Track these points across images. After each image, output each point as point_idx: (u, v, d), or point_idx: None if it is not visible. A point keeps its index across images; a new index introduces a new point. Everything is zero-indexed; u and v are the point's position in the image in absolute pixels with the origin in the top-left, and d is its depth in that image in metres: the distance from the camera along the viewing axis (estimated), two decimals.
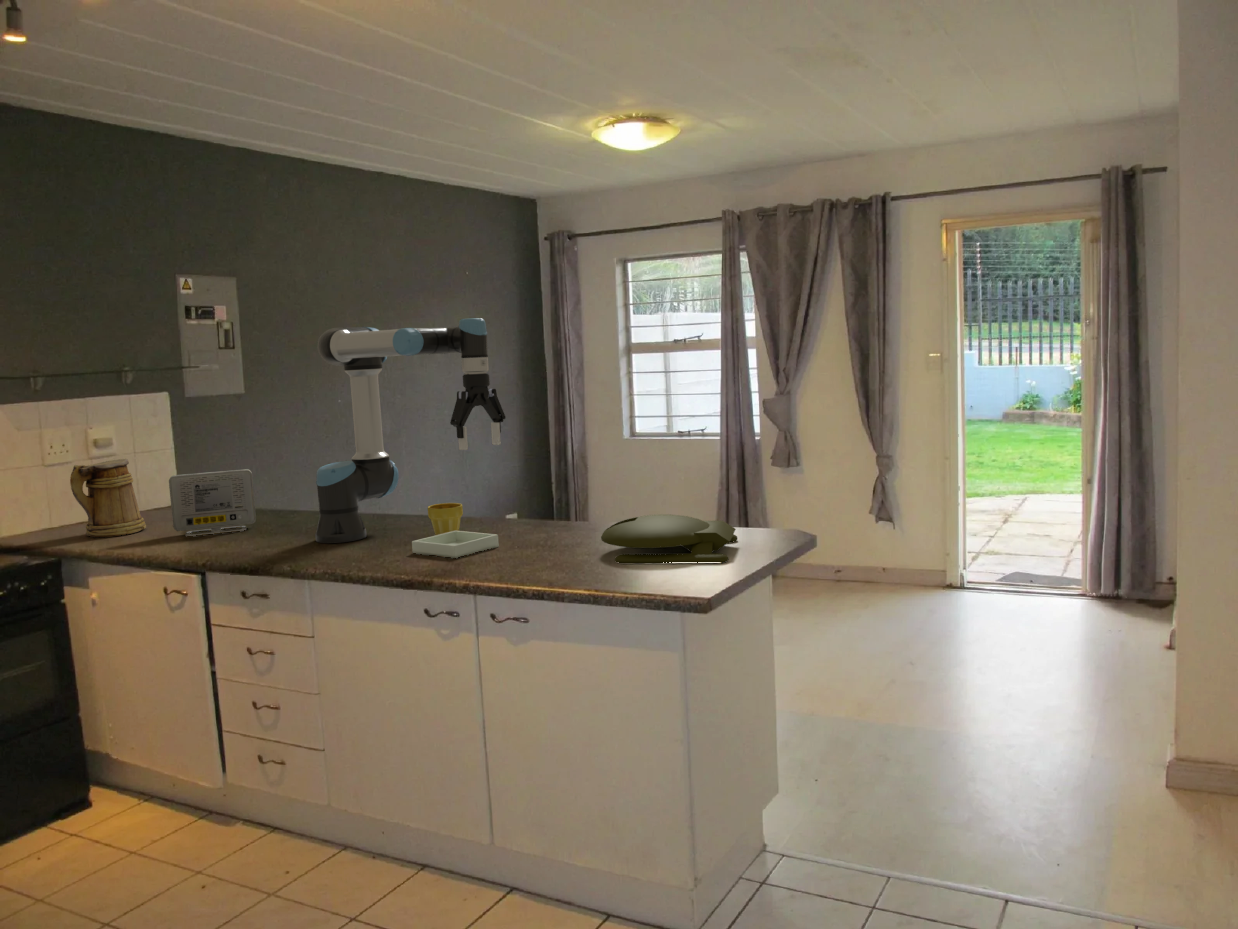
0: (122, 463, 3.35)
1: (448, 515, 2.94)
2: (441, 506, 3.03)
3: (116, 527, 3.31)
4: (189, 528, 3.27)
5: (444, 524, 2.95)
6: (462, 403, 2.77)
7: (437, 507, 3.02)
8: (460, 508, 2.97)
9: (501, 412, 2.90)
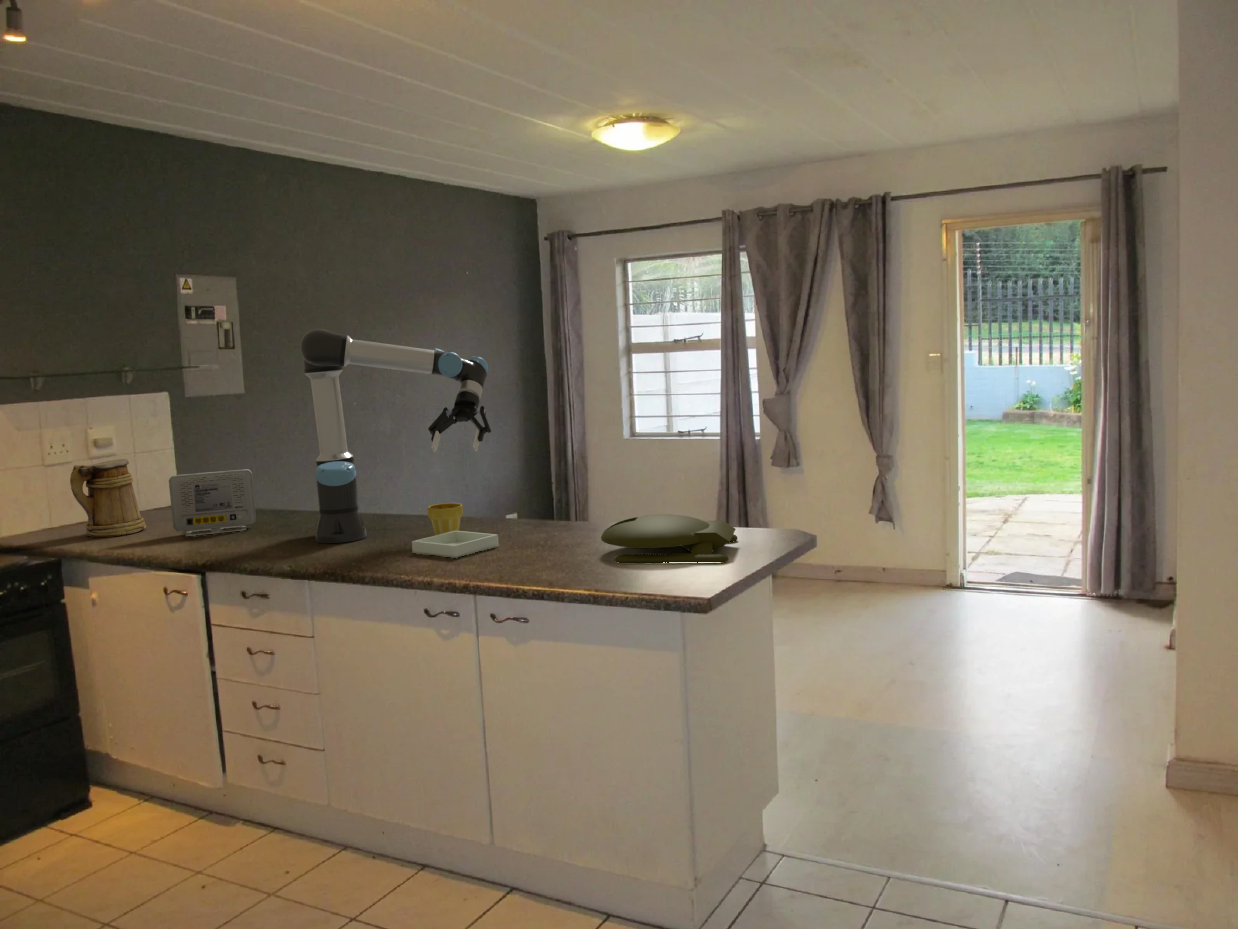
0: (122, 463, 3.35)
1: (448, 515, 2.94)
2: (441, 506, 3.03)
3: (116, 527, 3.31)
4: (189, 528, 3.27)
5: (444, 524, 2.95)
6: None
7: (437, 507, 3.02)
8: (460, 508, 2.97)
9: None
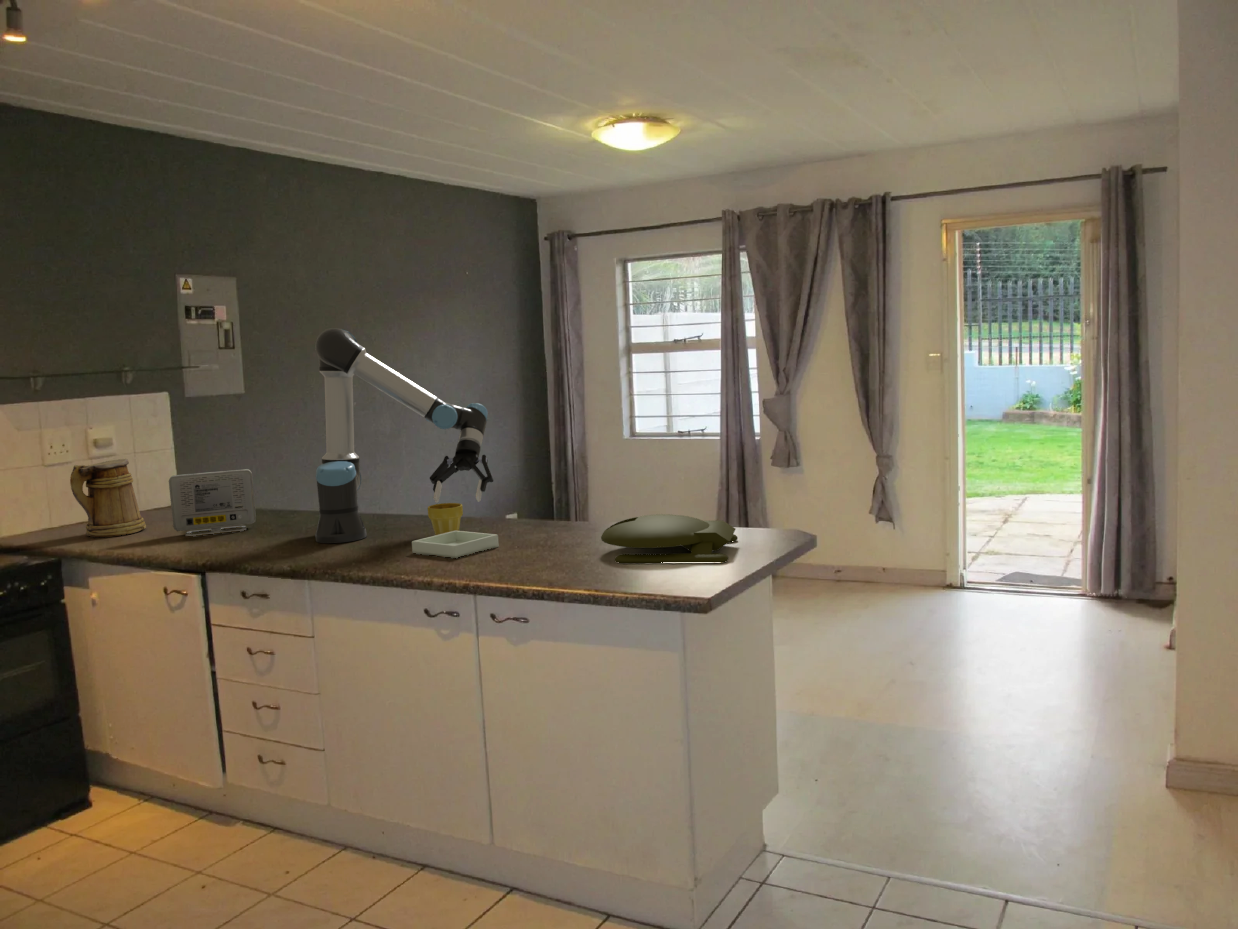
0: (122, 463, 3.35)
1: (448, 515, 2.94)
2: (441, 506, 3.03)
3: (116, 527, 3.31)
4: (189, 528, 3.27)
5: (444, 524, 2.95)
6: None
7: (437, 507, 3.02)
8: (460, 508, 2.97)
9: None
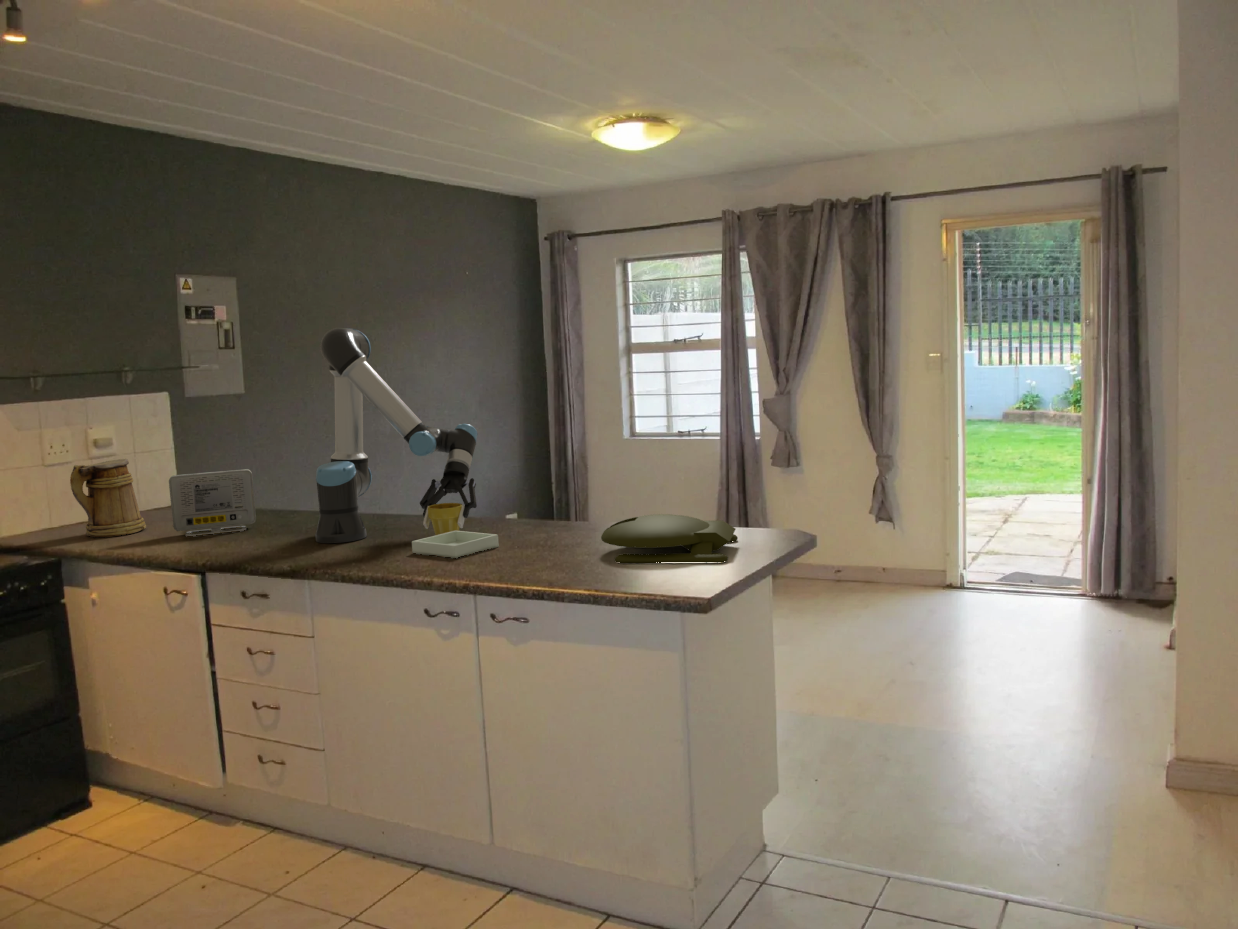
0: (122, 463, 3.35)
1: (448, 515, 2.94)
2: (441, 506, 3.03)
3: (116, 527, 3.31)
4: (189, 528, 3.27)
5: (444, 524, 2.95)
6: None
7: (437, 507, 3.02)
8: (460, 508, 2.97)
9: None
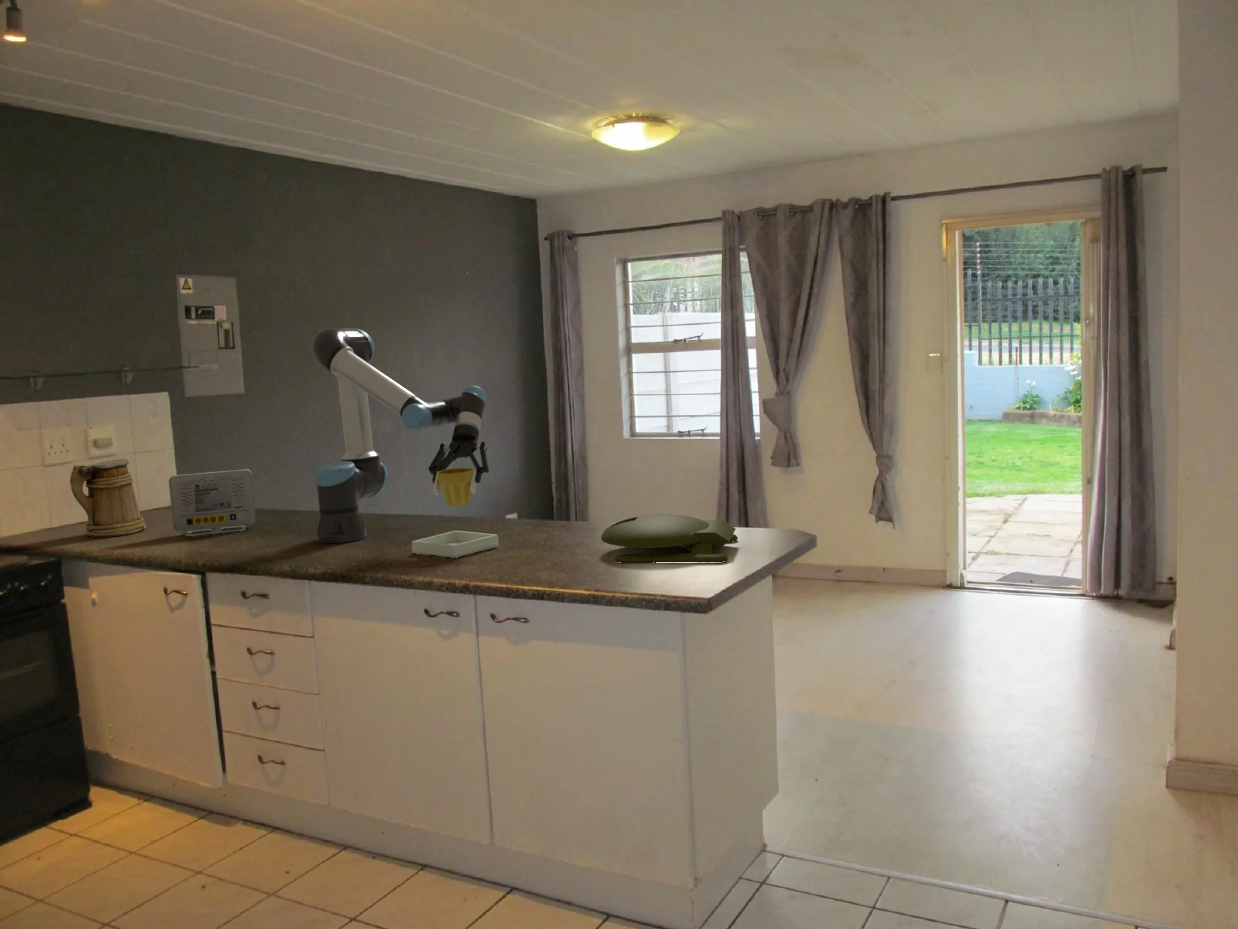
0: (122, 463, 3.35)
1: (460, 480, 2.79)
2: (451, 471, 2.88)
3: (116, 527, 3.31)
4: (189, 528, 3.27)
5: (456, 490, 2.80)
6: None
7: (447, 472, 2.87)
8: (472, 473, 2.82)
9: None
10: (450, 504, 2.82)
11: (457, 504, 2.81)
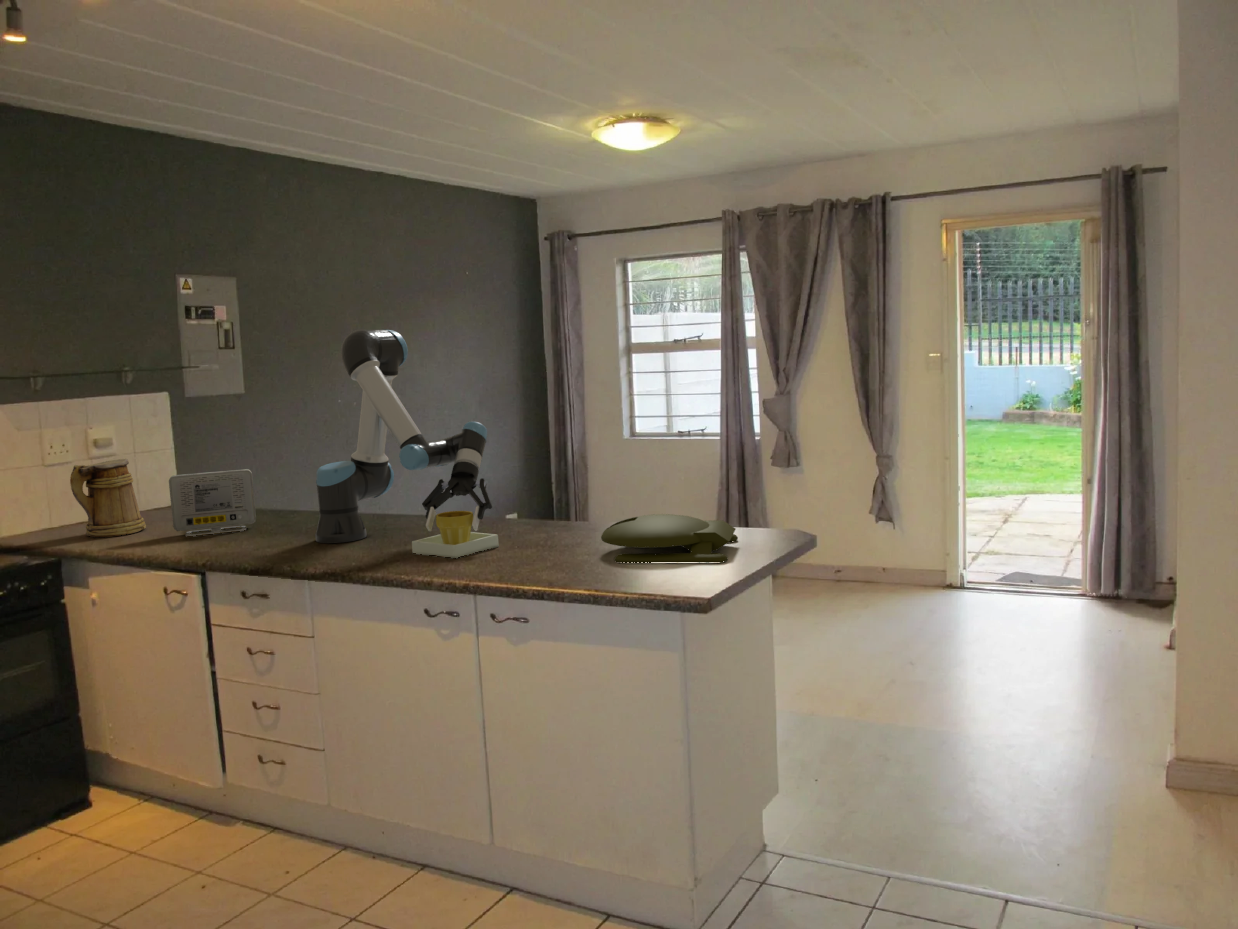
0: (122, 463, 3.35)
1: (458, 524, 2.74)
2: (450, 514, 2.83)
3: (116, 527, 3.31)
4: (189, 528, 3.27)
5: (454, 534, 2.75)
6: None
7: (446, 515, 2.82)
8: (471, 516, 2.77)
9: None
10: None
11: None
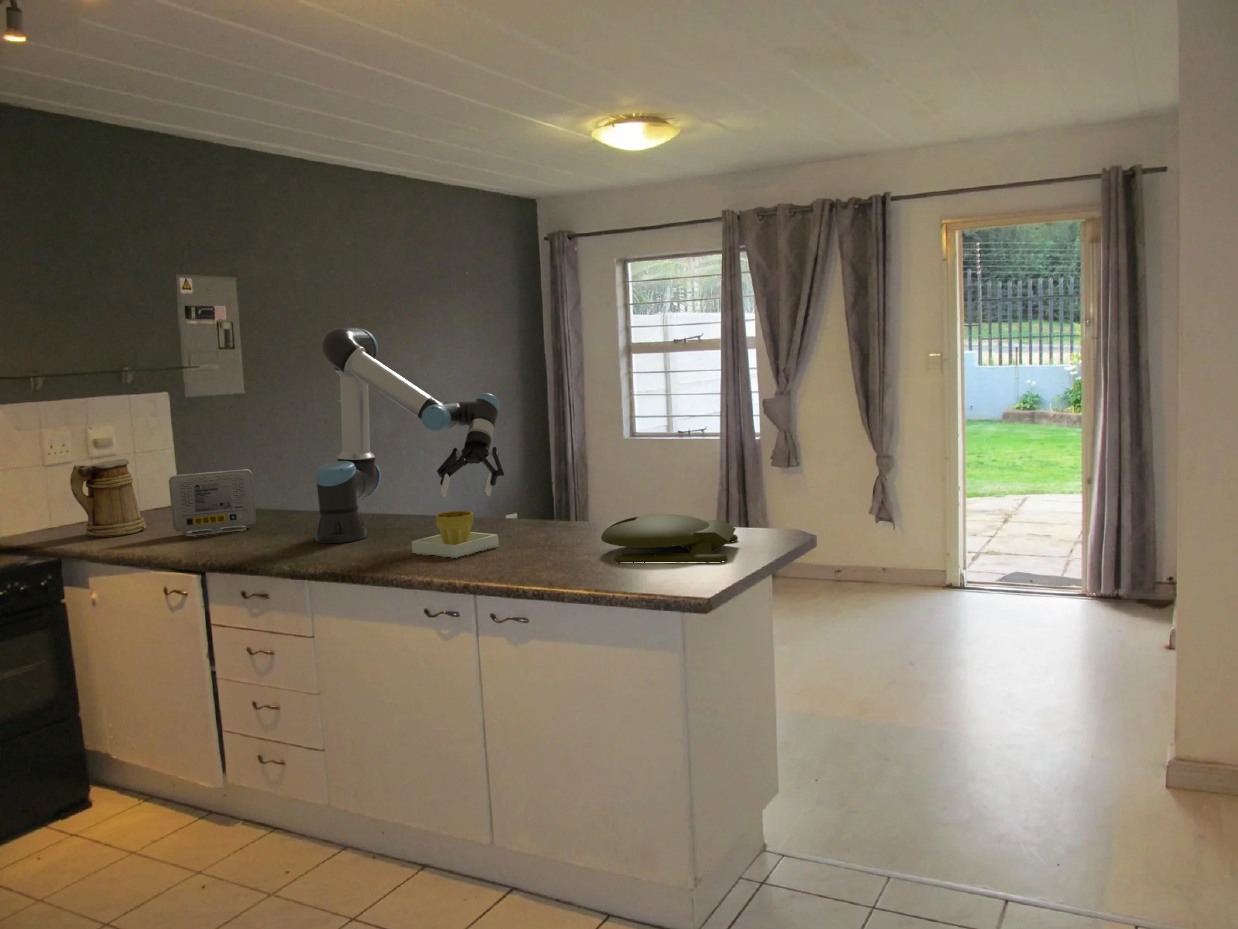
0: (122, 463, 3.35)
1: (458, 524, 2.74)
2: (450, 514, 2.82)
3: (116, 527, 3.31)
4: (189, 528, 3.27)
5: (454, 534, 2.75)
6: None
7: (446, 515, 2.82)
8: (470, 516, 2.77)
9: None
10: None
11: None
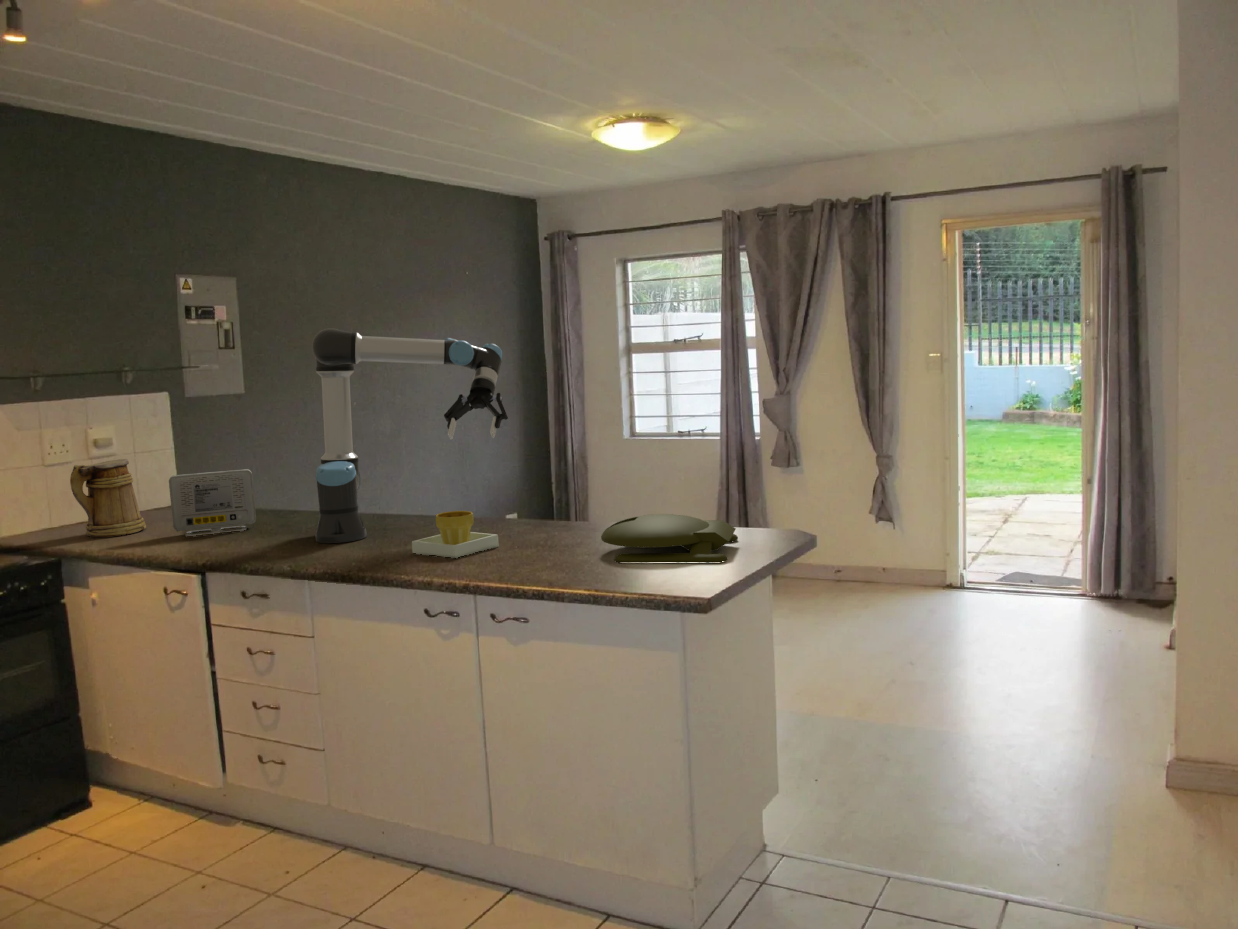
0: (122, 463, 3.35)
1: (458, 524, 2.74)
2: (450, 514, 2.82)
3: (116, 527, 3.31)
4: (189, 528, 3.27)
5: (454, 534, 2.75)
6: None
7: (446, 515, 2.82)
8: (470, 516, 2.77)
9: None
10: None
11: None
